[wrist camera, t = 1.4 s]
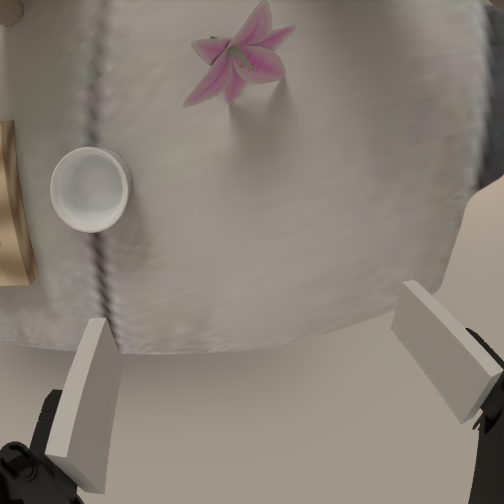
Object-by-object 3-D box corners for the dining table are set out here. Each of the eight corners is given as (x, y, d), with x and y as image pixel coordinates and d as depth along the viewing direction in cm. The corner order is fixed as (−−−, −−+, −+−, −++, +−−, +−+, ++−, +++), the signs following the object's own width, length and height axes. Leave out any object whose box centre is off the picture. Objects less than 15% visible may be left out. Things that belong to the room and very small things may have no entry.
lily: (167, 108, 31) (199, 141, 25) (156, 5, 22) (188, 3, 16) (263, 87, 34) (313, 114, 29) (264, -3, 26) (322, 2, 20)
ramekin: (59, 208, 32) (44, 220, 28) (74, 135, 29) (58, 138, 25) (126, 228, 34) (117, 243, 30) (146, 154, 31) (138, 159, 27)
